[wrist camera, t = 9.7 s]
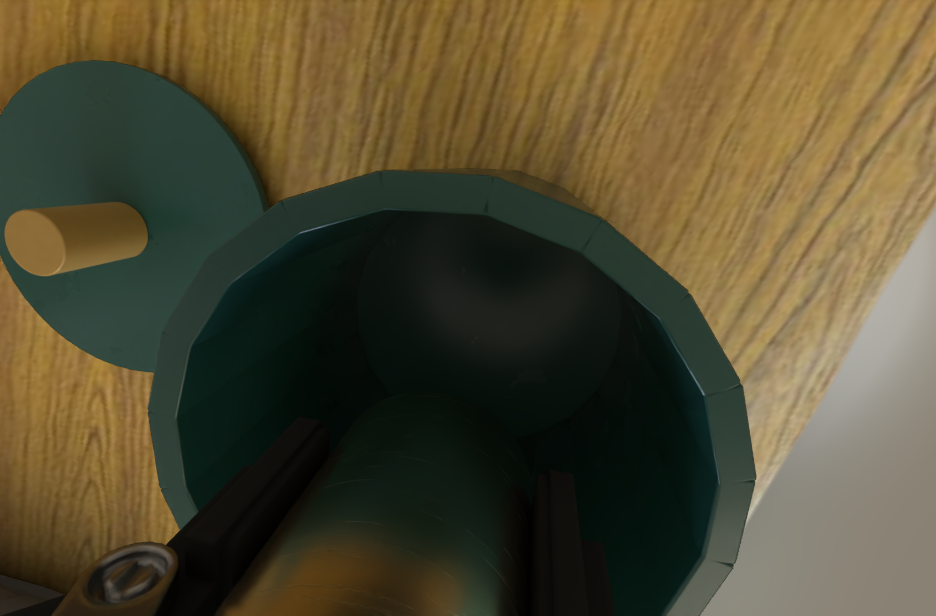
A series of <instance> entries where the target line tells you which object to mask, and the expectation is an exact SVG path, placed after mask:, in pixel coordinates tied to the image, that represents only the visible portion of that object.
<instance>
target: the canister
mask: <svg viewBox="0 0 936 616" xmlns="http://www.w3.org/2000/svg"><path fill="white" fill-rule="evenodd" d="M411 392H437V393H444V394H448V395H452V396H456V397H459V398H462V399H464V400H467V401H469V402H472V403H473V404H475V405H477V406H479V407H481V408H483V409H484V410H486V411H487V412H488V413H490V414H491V415H493V416H494V417H495V418H496V419H497V420H498V421H499V422H501V423H502V424H503V425H504V426H505V428H506V429H507V430H508V431H509V432H510V433H511V434H512V436H513V437H514V439H515V440H516V442H517V443H518V445H519V446H520V448H521V451H522V453H523V455H524V457H525V460H526V463H527V466H528V469H529V475H530V508H531V504H532V499H533V495H534V490H535V486H536V481H537V477H538V474H543V475H547V472H548V470H549V469H551V470H555V471H560V472H565V473H570V474H573V477H574V485H575V494H576V503H577V512H578V521H579V530H580V538H582V539H587V540H591V541H596V542H600V543H602V545H603V547H604V551H605V557H606V563H607V569H608V575H609V581H610V587H611V593H612V599H613V604H614V610H615V616H700V614H701V613H702V612H703V610H704V609H705V607H706V606H707V604H708V603H709V602H710V600H711V599H712V597H713V596H714V595H715V593H716V592H717V590H718V589H719V587H720V586H721V584H722V583H723V582H724V580H725V579H726V578H727V576H728V575H729V573H730V572H731V571H732V569H733V566H734V565H733V564H735V562H736V559H737V556H738V551H739V548H740V543H741V539H742V535H743V531H744V527H745V523H746V519H747V515H748V511H749V507H750V503H751V498H752V494H753V490H754V486H755V480H756V470H755V464H754V457H753V450H752V443H751V437H750V430H749V423H748V417H747V410H746V403H745V396H744V390H743V386H742V385H741V384H740V379H739V377H738V375H737V374H736V372H735V370H734V368H733V367H732V365H731V363H730V361H729V360H728V358H727V356H726V355H725V353H724V351H723V349H722V348H721V346H720V344H719V342H718V341H717V339H716V337H715V335H714V334H713V332H712V330H711V328H710V327H709V325H708V323H707V321H706V320H705V318H704V316H703V314H702V313H701V311H700V309H699V307H698V306H697V304H696V302H695V300H694V299H693V297H692V295H691V294H689V292H688V290H687V289H686V288H685V287H683V286H682V285H681V284H680V283H679V282H678V281H676V280H675V279H674V278H673V277H672V276H670V275H669V274H668V273H667V272H666V271H665V270H663V269H662V268H661V267H660V266H659V265H657V264H656V263H655V262H654V261H653V260H652V259H650V258H649V257H648V256H647V255H646V254H645V253H643V252H642V251H641V250H640V249H639V248H637V247H636V246H635V245H634V244H633V243H632V242H630V241H629V240H628V239H627V238H626V237H624V236H623V235H622V234H621V233H620V232H619V231H617V230H616V229H615V228H614V227H613V226H612V225H610V224H609V223H608V222H607V221H606V220H604V219H603V218H602V217H601V216H599V215H598V214H597V213H595V212H594V211H593V210H592V209H590V208H589V207H588V206H587V205H585V204H584V203H583V202H581V201H580V200H579V199H578V198H576V197H575V196H574V195H573V194H571V193H570V192H569V191H567V190H566V189H564V188H561V187H559V186H556V185H554V184H551V183H548V182H546V181H543V180H541V179H538V178H536V177H533V176H531V175H528V174H526V173H523V172H520V171H517V170H495V169H474V168H456V169H407V170H383V171H375V172H372V173H369V174H365V175H362V176H359V177H355V178H352V179H349V180H345V181H342V182H339V183H335V184H332V185H329V186H325V187H322V188H319V189H315V190H312V191H309V192H306V193H302V194H299V195H296V196H292V197H289V198H286V199H284V200H283V201H279V202H277V203H276V204H275V205H273V206H272V207H271V208H269V209H268V210H267V211H266V212H264V213H263V214H262V215H260V216H259V217H258V218H256V219H255V220H254V221H252V222H251V223H250V224H249V225H247V226H246V227H245V228H243V229H242V230H241V231H239V232H238V233H237V234H236V235H234V236H233V237H232V238H230V239H229V240H228V241H226V242H225V243H224V244H222V245H221V246H220V247H219V248H217V249H216V250H215V251H213V252H212V253H211V254H209V255H208V256H207V258H206V259H205V260H204V262H203V264H202V265H201V267H200V268H199V270H198V272H197V273H196V275H195V277H194V278H193V280H192V282H191V283H190V285H189V287H188V288H187V290H186V292H185V293H184V295H183V297H182V298H181V300H180V302H179V303H178V305H177V307H176V308H175V310H174V312H173V313H172V315H171V317H170V318H169V320H168V321H167V323H166V325H165V326H164V328H163V331H162V333H161V337H160V343H159V348H158V354H157V359H156V365H155V371H154V376H153V382H152V387H151V393H150V398H149V404H148V410H149V411H148V417H149V424H150V430H151V436H152V443H153V449H154V455H155V462H156V468H157V475H158V481H159V486H160V488H161V492H162V494H163V496H164V498H165V500H166V502H167V504H168V506H169V508H170V510H171V512H172V514H173V516H174V518H175V521H176V523H177V525H178V527H179V529H180V530H181V529H182V528H183V527H184V526H185V525H186V524H187V523H188V522H189V521H190V520H191V519H192V518H193V517H194V516H195V515H196V514H197V513H198V512H199V511H200V510H201V509H202V508H203V507H204V506H205V505H206V504H207V503H208V502H209V501H210V500H211V499H212V498H213V497H214V496H215V495H216V494H217V493H218V492H219V491H220V490H221V489H222V487H223V486H224V485H225V484H226V483H227V482H228V481H229V480H230V479H231V478H232V477H233V476H234V475H235V474H236V473H237V472H238V471H239V470H240V469H242V468H243V467H244V466H246V465H249V464H250V465H253V464H254V463H255V462H256V461H257V460H258V458H259V457H260V456H261V455H262V454H263V453H264V452H265V451H266V450H267V449H268V448H269V447H270V446H271V445H272V444H273V443H274V442H275V441H276V440H277V439H278V438H279V437H280V436H281V435H282V433H283V432H284V431H285V430H286V429H287V428H288V427H289V426H290V425H291V424H292V423H293V422H294V421H295V420H296V419H297V418H298V417H304V418H309V419H314V420H319V421H322V422H323V423H324V428H326V429H329V430H330V448H329V456H330V454H331V453H332V451H333V450H334V449H335V447H336V446H337V444H338V443H339V442H340V440H341V439H342V438H343V436H344V435H345V433H346V432H347V431H348V429H349V428H350V427H351V425H352V424H353V422H354V421H355V420H356V419H357V418H358V417H359V416H360V415H361V414H362V413H363V412H364V411H366V410H367V409H368V408H370V407H371V406H373V405H374V404H376V403H378V402H380V401H382V400H384V399H387V398H389V397H392V396H395V395H400V394H404V393H411Z"/></svg>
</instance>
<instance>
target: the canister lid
mask: <svg viewBox="0 0 936 616" xmlns="http://www.w3.org/2000/svg"><path fill="white" fill-rule="evenodd" d="M268 209H269V205H268V201H267V197H266V194H265V191H264V188H263V186H262V183H261V181H260V178H259V176H258V173H257V171H256V169H255V167H254V165H253V164H252V162H251V160H250V158H249V156H248V154H247V153H246V151H245V149H244V148H243V147H242V145H241V144H240V142H239V141H238V139H237V138H236V136H235V135H234V134H233V132H232V131H231V130H230V129H229V128H228V126H227V125H226V124H225V123H224V122H223V121H222V120H221V118H220V117H219V116H218V115H217V114H216V113H215V112H214V111H213V110H211V109H210V108H209V107H208V106H207V105H206V104H205V103H204V102H203V101H202V100H201V99H199V98H198V97H196V96H195V95H194V94H192V93H191V92H189V91H188V90H187V89H185V88H184V87H182V86H181V85H179V84H177V83H175V82H173V81H171V80H169V79H168V78H166V77H164V76H162V75H159V74H157V73H154V72H151V71H149V70H146V69H143V68H140V67H136V66H131V65H127V64H123V63H118V62H113V61H98V60H91V61H80V62H73V63H69V64H65V65H61V66H58V67H55V68H53V69H50V70H48V71H46V72H44V73H42V74H40V75H38V76H37V77H35V78H34V79H33V80H31V81H30V82H28V83H27V84H25V85H24V86H23V87H22V88H21V89H20V90H19V91H18V92H17V93H16V94H15V95H14V96H13V97H12V98H11V100H10V101H9V103H8V104H7V106H6V107H5V108H4V110H3V111H2V113H1V115H0V256H1V258H2V261H3V263H4V265H5V267H6V268H7V270H8V272H9V274H10V276H11V278H12V279H13V281H14V283H15V284H16V286H17V287H18V289H19V290H20V292H21V293H22V295H23V296H24V298H25V299H26V300H27V301H28V302H29V304H30V305H31V306H32V307H33V308H34V310H35V311H36V312H37V313H38V314H39V315H40V316H41V317H42V318H43V319H44V320H45V321H46V322H47V323H48V324H49V325H50V326H51V327H52V328H53V329H54V330H55V331H57V332H58V333H59V334H60V335H61V336H63V337H64V338H65V339H66V340H68V341H69V342H71V343H72V344H74V345H75V346H77V347H78V348H80V349H81V350H83V351H85V352H87V353H89V354H91V355H92V356H94V357H96V358H98V359H101V360H103V361H106V362H108V363H111V364H113V365H116V366H120V367H123V368H127V369H131V370H137V371H144V372H154V371H155V365H156V359H157V354H158V348H159V343H160V337H161V333H162V331H163V328H164V326H165V325H166V323H167V321H168V320H169V318H170V317H171V315H172V313H173V312H174V310H175V308H176V307H177V305H178V303H179V302H180V300H181V298H182V297H183V295H184V293H185V292H186V290H187V288H188V287H189V285H190V283H191V282H192V280H193V278H194V277H195V275H196V273H197V272H198V270H199V268H200V267H201V265H202V264H203V262H204V260H205V259H206V258H207V256H208V255H209V254H211V253H212V252H213V251H215V250H216V249H217V248H219V247H220V246H221V245H222V244H224V243H225V242H226V241H228V240H229V239H230V238H232V237H233V236H234V235H236V234H237V233H238V232H239V231H241V230H242V229H243V228H245V227H246V226H247V225H249V224H250V223H251V222H252V221H254V220H255V219H256V218H258V217H259V216H260V215H262V214H263V213H264V212H266V211H267V210H268Z"/></svg>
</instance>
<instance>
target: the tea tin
mask: <svg viewBox="0 0 936 616" xmlns="http://www.w3.org/2000/svg"><path fill="white" fill-rule="evenodd" d="M529 526H530V475H529V469H528V466H527V463H526V460H525V457H524V455H523V453H522V451H521V448H520V446H519V445H518V443H517V442H516V440H515V439H514V437H513V436H512V434H511V433H510V432H509V431H508V430H507V429H506V428H505V426H504V425H503V424H502V423H501V422H499V421H498V420H497V419H496V418H495V417H494V416H493V415H491V414H490V413H488V412H487V411H486V410H484V409H483V408H481V407H479V406H477V405H475V404H473V403H472V402H469V401H467V400H464V399H462V398H459V397H456V396H452V395H448V394H444V393H437V392H411V393H404V394H400V395H395V396H392V397H389V398H387V399H384V400H382V401H380V402H378V403H376V404H374V405H373V406H371V407H370V408H368V409H367V410H366V411H364V412H363V413H362V414H361V415H360V416H359V417H358V418H357V419H356V420H355V421H354V422H353V424H352V425H351V427H350V428H349V429H348V431H347V432H346V433H345V435H344V436H343V438H342V439H341V440H340V442H339V443H338V444H337V446H336V447H335V449H334V450H333V451H332V453H331V454H330V456H329V457H328V458H327V460H326V461H325V462H324V464H323V465H322V467H321V468H320V469H319V471H318V472H317V473H316V475H315V476H314V478H313V479H312V480H311V482H310V483H309V484H308V486H307V487H306V489H305V490H304V491H303V493H302V494H301V496H300V497H299V498H298V500H297V501H296V502H295V504H294V505H293V507H292V508H291V509H290V511H289V512H288V513H287V515H286V516H285V518H284V519H283V520H282V522H281V523H280V524H279V526H278V527H277V529H276V530H275V531H274V533H273V534H272V536H271V537H270V538H269V540H268V541H267V542H266V544H265V545H264V547H263V548H262V549H261V551H260V552H259V553H258V555H257V556H256V558H255V559H254V560H253V562H252V563H251V565H250V566H249V567H248V569H247V570H246V571H245V573H244V574H243V576H242V577H241V578H240V580H239V581H238V582H237V584H236V585H235V587H234V588H233V589H232V591H231V592H230V593H229V595H228V596H227V598H226V599H225V600H224V602H223V603H222V605H221V606H220V607H219V609H218V610H217V611H216V613H215V614H214V616H527V602H528V564H529Z"/></svg>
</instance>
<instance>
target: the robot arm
mask: <svg viewBox="0 0 936 616" xmlns="http://www.w3.org/2000/svg"><path fill="white" fill-rule="evenodd" d="M329 448H330V430H329V429H326V428H324V423H323V422H322V421H319V420H314V419H309V418H304V417H298V418H297V419H296V420H295V421H294V422H293V423H292V424H291V425H290V426H289V427H288V428H287V429H286V430H285V431H284V432H283V433H282V435H281V436H280V437H279V438H278V439H277V440H276V441H275V442H274V443H273V444H272V445H271V446H270V447H269V448H268V449H267V450H266V451H265V452H264V453H263V454H262V455H261V456H260V457H259V458H258V460H257V461H256V462H255V463H254V464H253V465H250V464H249V465H246V466H244V467H243V468H242V469H240V470H239V471H238V472H237V473H236V474H235V475H234V476H233V477H232V478H231V479H230V480H229V481H228V482H227V483H226V484H225V485H224V486H223V487H222V489H221V490H220V491H219V492H218V493H217V494H216V495H215V496H214V497H213V498H212V499H211V500H210V501H209V502H208V503H207V504H206V505H205V506H204V507H203V508H202V509H201V510H200V511H199V512H198V513H197V514H196V515H195V516H194V517H193V518H192V519H191V520H190V521H189V522H188V523H187V524H186V525H185V526H184V527H183V528H182V529H181V530H180V531H179V532H178V533H177V534H176V535H175V536H174V537H173V538H172V539H171V540H170V541H169V542H168V543H167V544H166V545H164V544H162V543H155V542H141V543H134V544H130V545H126V546H123V547H120V548H118V549H115V550H113V551H111V552H109V553H107V554H105V555H103V556H102V557H101V558H99V559H98V560H96V561H95V562H93V563H92V564H91V565H90V566H89V567H88V568H87V569H86V570H85V571H84V572H83V573H82V575H81V576H80V577H79V579H78V580H77V582H76V583H75V584H74V586H73V587H72V588H71V590H70V591H69V592H68V594H65V595H62V596H59V597H56V598H53V599H50V600H47V601H44V602H41V603H38V604H35V605H32V606H29V607H26V608H22V609H19V610H16V611H13V612H10V613H7V614H4V615H1V616H214V614H215V613H216V611H217V610H218V609H219V607H220V606H221V605H222V603H223V602H224V600H225V599H226V598H227V596H228V595H229V593H230V592H231V591H232V589H233V588H234V587H235V585H236V584H237V582H238V581H239V580H240V578H241V577H242V576H243V574H244V573H245V571H246V570H247V569H248V567H249V566H250V565H251V563H252V562H253V560H254V559H255V558H256V556H257V555H258V553H259V552H260V551H261V549H262V548H263V547H264V545H265V544H266V542H267V541H268V540H269V538H270V537H271V536H272V534H273V533H274V531H275V530H276V529H277V527H278V526H279V524H280V523H281V522H282V520H283V519H284V518H285V516H286V515H287V513H288V512H289V511H290V509H291V508H292V507H293V505H294V504H295V502H296V501H297V500H298V498H299V497H300V496H301V494H302V493H303V491H304V490H305V489H306V487H307V486H308V484H309V483H310V482H311V480H312V479H313V478H314V476H315V475H316V473H317V472H318V471H319V469H320V468H321V467H322V465H323V464H324V462H325V461H326V460H327V458H328V457H329ZM527 616H615V610H614V604H613V599H612V593H611V587H610V581H609V575H608V569H607V563H606V557H605V551H604V547H603V545H602V543H600V542H596V541H591V540H587V539H582V538H580V530H579V521H578V512H577V503H576V494H575V485H574V477H573V474H570V473H565V472H560V471H555V470H551V469H549V470H548V472H547V475H543V474H538V477H537V481H536V486H535V490H534V495H533V499H532V504H531V508H530V526H529V564H528V602H527Z"/></svg>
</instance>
